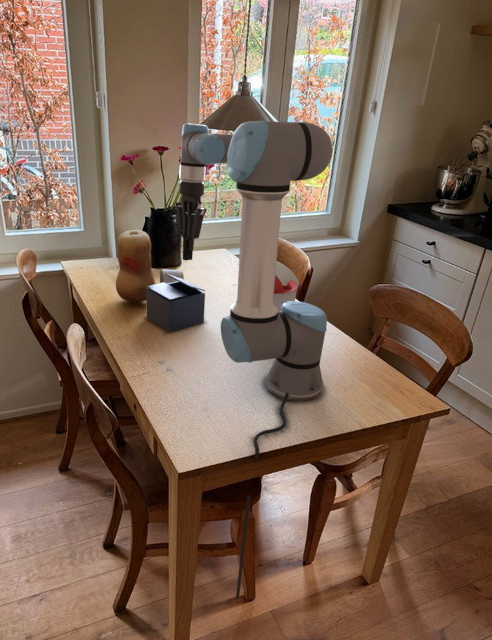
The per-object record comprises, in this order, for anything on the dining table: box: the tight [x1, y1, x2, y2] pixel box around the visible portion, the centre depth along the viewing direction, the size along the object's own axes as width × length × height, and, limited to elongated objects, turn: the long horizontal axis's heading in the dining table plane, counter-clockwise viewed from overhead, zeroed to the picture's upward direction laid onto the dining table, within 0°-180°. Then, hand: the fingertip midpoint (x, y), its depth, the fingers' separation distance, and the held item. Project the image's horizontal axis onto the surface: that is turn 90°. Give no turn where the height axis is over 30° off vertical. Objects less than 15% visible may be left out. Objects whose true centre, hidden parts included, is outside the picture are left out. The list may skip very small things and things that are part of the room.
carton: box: [145, 281, 206, 334], centre depth 174 cm, size 14×13×11 cm
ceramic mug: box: [159, 268, 185, 284], centre depth 200 cm, size 11×8×8 cm
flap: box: [166, 274, 206, 292], centre depth 173 cm, size 7×13×1 cm, turn 40°
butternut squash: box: [115, 229, 156, 305], centre depth 182 cm, size 14×13×25 cm
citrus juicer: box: [273, 274, 299, 311], centre depth 168 cm, size 16×17×20 cm
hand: (187, 259), depth 169 cm, fingers closed
